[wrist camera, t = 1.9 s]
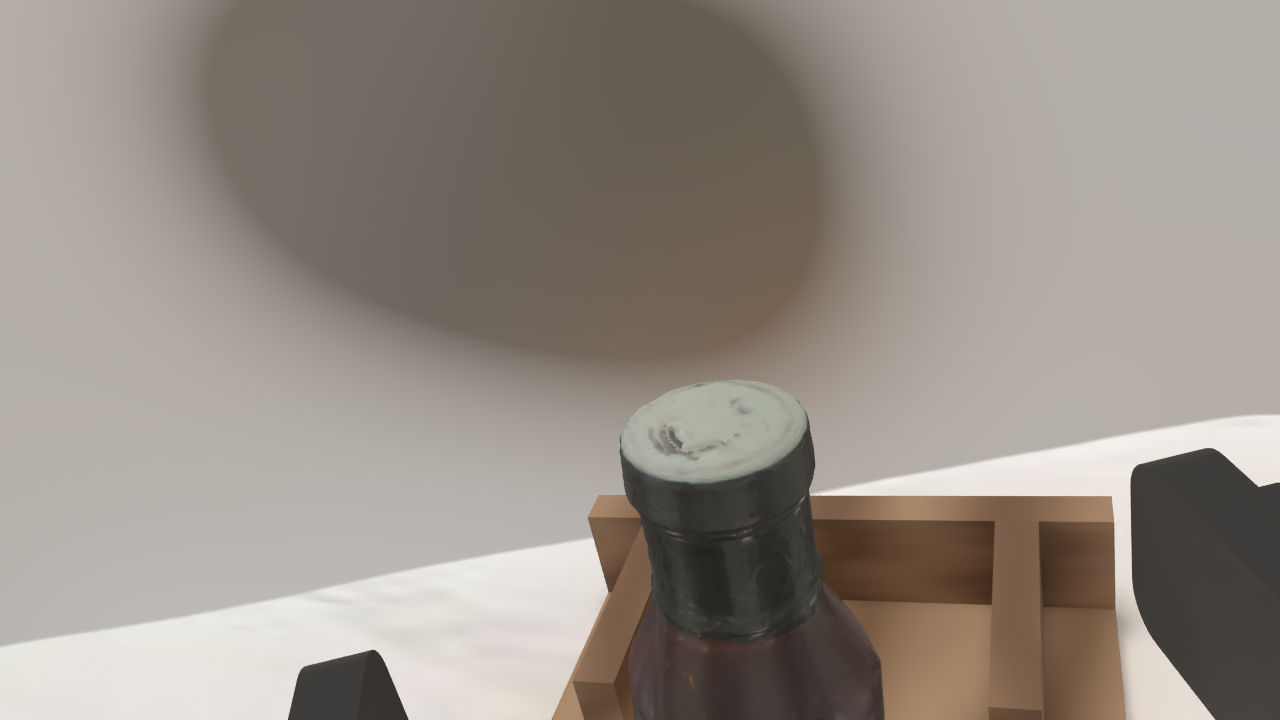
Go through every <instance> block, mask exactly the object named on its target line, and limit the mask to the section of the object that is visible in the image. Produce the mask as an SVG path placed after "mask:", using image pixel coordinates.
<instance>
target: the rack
mask: <svg viewBox="0 0 1280 720" xmlns="http://www.w3.org/2000/svg"><path fill="white" fill-rule="evenodd" d="M810 502H811V511H812V519H813V524H814V538H815V544H816V546H817V549H818V551H819V553H820V556H821V561H822V566H823V573H824V576H823V583H826V584H827V585H828V586H829V587H830V588H831V589H832V590H833V591H834V592H835V593H836V594H837V596H838V597H839V598H840V599H841V600H842V601H843V602H844V604H845V605H846V606H847V607H848V608H849V609H850V610H851V611H852V612H853V613H854V615H855V616H856V617H857V618H858V619H859V621H860V622H861V623H862V625H863V628H864V629H865V631H866V632H867V634H868V636H869V639H870V641H871V643H872V645H873V647H874V649H875V651H876V653H877V655H878V657H879V658H880V661H881V669H882V686H883V698H884V709H885V720H1126V717H1125V706H1124V695H1123V685H1122V674H1121V664H1120V653H1119V643H1118V632H1117V621H1116V611H1115V551H1114V516H1113V507H1112V497H1111V496H810ZM588 520H589V523H590V527H591V530H592V534H593V538H594V541H595V545H596V548H597V552H598V556H599V559H600V563H601V566H602V570H603V573H604V577H605V581H606V584H607V588H608V591H609V593H608V595H607V597H606V600H605V602H604V604H603V606H602V608H601V611H600V613H599V615H598V617H597V620H596V622H595V624H594V626H593V628H592V631H591V633H590V635H589V637H588V640H587V642H586V644H585V646H584V648H583V651H582V653H581V655H580V657H579V660H578V662H577V664H576V666H575V668H574V671H573V673H572V675H571V677H570V680H569V682H568V684H567V686H566V688H565V691H564V693H563V695H562V697H561V700H560V702H559V704H558V706H557V708H556V711H555V713H554V715H553V717H552V720H634V714H633V705H632V696H631V688H630V680H629V668H628V663H629V654H630V650H631V645H632V642H633V640H634V639H635V637H636V635H637V633H638V631H639V629H640V627H641V624H642V621H643V619H644V616H645V614H646V611H647V609H648V606H649V604H650V601H651V599H652V596H653V593H652V588H651V574H652V569H651V564H650V560H649V557H648V548H647V542H646V539H645V536H644V532H643V527H642V525H641V517H640V515H639V513H638V511H637V510H636V509H635V508H634V507H633V506H632V505H631V504H630V502H629V500H628V498H627V495H623V496H622V495H613V496H612V495H599V496H598V498H597V500H596V502H595V504H594V506H593V508H592V510H591V512H590V514H589V516H588Z"/></svg>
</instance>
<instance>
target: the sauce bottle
mask: <svg viewBox="0 0 1280 720" xmlns="http://www.w3.org/2000/svg"><path fill="white" fill-rule="evenodd" d="M620 456H621V464H622V471H623V479H624V487H625V492H626V495H627V498H628V500H629V502H630V504H631V505H632V506H633V507H634V508H635V509H636V510H637V511H638V513H639V515H640V517H641V525H642V527H643V532H644V536H645V539H646V542H647V548H648V557H649V560H650V564H651V569H652V574H651V588H652V593H653V596H652V599H651V601H650V604H649V606H648V609H647V611H646V614H645V616H644V619H643V621H642V624H641V627H640V629H639V631H638V633H637V635H636V637H635V639H634V640H633V642H632V645H631V650H630V654H629V663H628V668H629V680H630V688H631V696H632V705H633V714H634V720H885V709H884V698H883V686H882V669H881V661H880V658H879V657H878V655H877V653H876V651H875V649H874V647H873V645H872V643H871V641H870V639H869V636H868V634H867V632H866V631H865V629H864V628H863V625H862V623H861V622H860V621H859V619H858V618H857V617H856V616H855V615H854V613H853V612H852V611H851V610H850V609H849V608H848V607H847V606H846V605H845V604H844V602H843V601H842V600H841V599H840V598H839V597H838V596H837V594H836V593H835V592H834V591H833V590H832V589H831V588H830V587H829V586H828V585H827V584H826V583H823V576H824V573H823V566H822V561H821V556H820V553H819V551H818V549H817V546H816V544H815V538H814V524H813V519H812V511H811V502H810V494H809V487H810V485H811V482H812V479H813V475H814V469H815V457H814V447H813V442H812V437H811V433H810V426H809V420H808V416H807V413H806V412H805V410H804V408H803V406H802V405H801V404H800V403H799V402H798V400H797V399H796V398H795V397H793V396H791V395H790V394H787V393H786V392H785V391H783V390H782V389H781V388H777V387H774V386H771V385H767V384H765V383H761V382H753V381H745V380H721V381H713V382H700V383H695V384H691V385H688V386H684V387H680V388H677V389H675V390H672V391H669V392H667V393H665V394H663V395H662V396H661V397H659V398H658V399H656V400H654V401H652V402H650V403H648V404H646V405H644V406H643V407H641V408H640V409H639V410H638V411H636V413H635V414H634V415H633V416H632V417H631V418H630V419H629V421H628V423H627V424H626V426H625V428H624V430H623V432H622V434H621V436H620Z"/></svg>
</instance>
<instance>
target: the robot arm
mask: <svg viewBox="0 0 1280 720" xmlns="http://www.w3.org/2000/svg"><path fill="white" fill-rule="evenodd" d="M1131 540H1132V582H1133V590H1134V595H1135V599H1136V603H1137V606H1138V609H1139V612H1140V614H1141V617H1142V619H1143V622H1144V624H1145V626H1146V628H1147V630H1148V632H1149V633H1150V635H1151V637H1152V638H1153V640H1154V641H1155V642H1156V644H1157V645H1158V646H1159V648H1160V649H1161V650H1162V652H1163V653H1164V654H1165V655H1166V657H1167V658H1168V659H1169V661H1170V662H1171V663H1172V664H1173V666H1174V667H1175V668H1176V670H1177V671H1178V672H1179V673H1180V675H1181V676H1182V677H1183V679H1184V680H1185V681H1186V682H1187V684H1188V685H1189V686H1190V688H1191V689H1192V690H1193V691H1194V693H1195V694H1196V695H1197V697H1198V698H1199V699H1200V700H1201V702H1202V703H1203V704H1204V706H1205V707H1206V708H1207V709H1208V711H1209V712H1210V713H1211V715H1212V716H1213V717H1214V718H1215V720H1280V483H1274V484H1270V485H1266V486H1262V487H1258V486H1257V485H1256V484H1255V483H1254V482H1252V481H1251V480H1250V479H1249V478H1248V477H1247V476H1246V475H1245V474H1244V473H1243V472H1241V471H1240V470H1239V469H1238V468H1237V467H1236V466H1235V465H1234V464H1233V463H1232V462H1230V461H1229V460H1228V459H1227V458H1226V457H1225V456H1224V455H1223V454H1221V453H1220V452H1219V451H1217V450H1215V449H1212V448H1205V449H1201V450H1197V451H1193V452H1188V453H1184V454H1180V455H1176V456H1172V457H1168V458H1164V459H1160V460H1156V461H1152V462H1148V463H1143V464H1139V465H1137V466H1136V467H1135V468H1134V470H1133V472H1132V475H1131ZM288 720H408V717H407V715H406V712H405V710H404V708H403V705H402V703H401V700H400V698H399V696H398V693H397V691H396V688H395V686H394V684H393V681H392V679H391V676H390V674H389V672H388V669H387V667H386V665H385V662H384V660H383V659H382V657H381V655H380V654H379V653H378V652H377V651H375V650H370V651H366V652H362V653H358V654H354V655H349V656H345V657H341V658H337V659H333V660H329V661H325V662H321V663H317V664H313V665H309V666H305V667H303V668H302V669H301V671H300V673H299V675H298V679H297V683H296V687H295V691H294V696H293V700H292V704H291V709H290V713H289V717H288Z"/></svg>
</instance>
